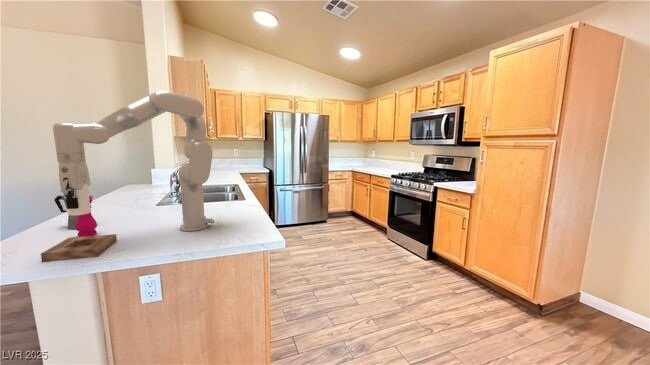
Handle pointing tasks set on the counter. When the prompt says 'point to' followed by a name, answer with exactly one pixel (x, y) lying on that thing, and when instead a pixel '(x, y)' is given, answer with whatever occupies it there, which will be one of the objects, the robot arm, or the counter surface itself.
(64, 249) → the socket board
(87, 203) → the can
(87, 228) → the pepper mill
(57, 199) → the coffeepot
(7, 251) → the counter surface
